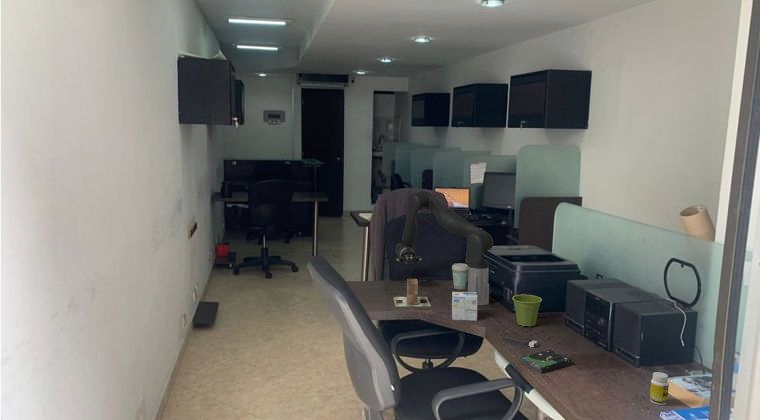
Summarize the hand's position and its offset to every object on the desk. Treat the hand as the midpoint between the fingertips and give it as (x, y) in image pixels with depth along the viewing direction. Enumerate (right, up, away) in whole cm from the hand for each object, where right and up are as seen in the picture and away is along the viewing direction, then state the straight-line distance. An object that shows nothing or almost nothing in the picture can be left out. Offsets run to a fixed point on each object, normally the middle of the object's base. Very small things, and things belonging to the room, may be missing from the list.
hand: (410, 262), depth 274 cm
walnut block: (0, -17, -13) cm, 22 cm away
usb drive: (+39, -26, -57) cm, 73 cm away
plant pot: (+46, -23, -36) cm, 63 cm away
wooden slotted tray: (0, -18, -10) cm, 21 cm away
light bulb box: (+22, -21, -28) cm, 41 cm away
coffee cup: (+26, -15, +20) cm, 36 cm away
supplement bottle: (+68, -32, -104) cm, 128 cm away
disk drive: (+42, -28, -77) cm, 92 cm away
